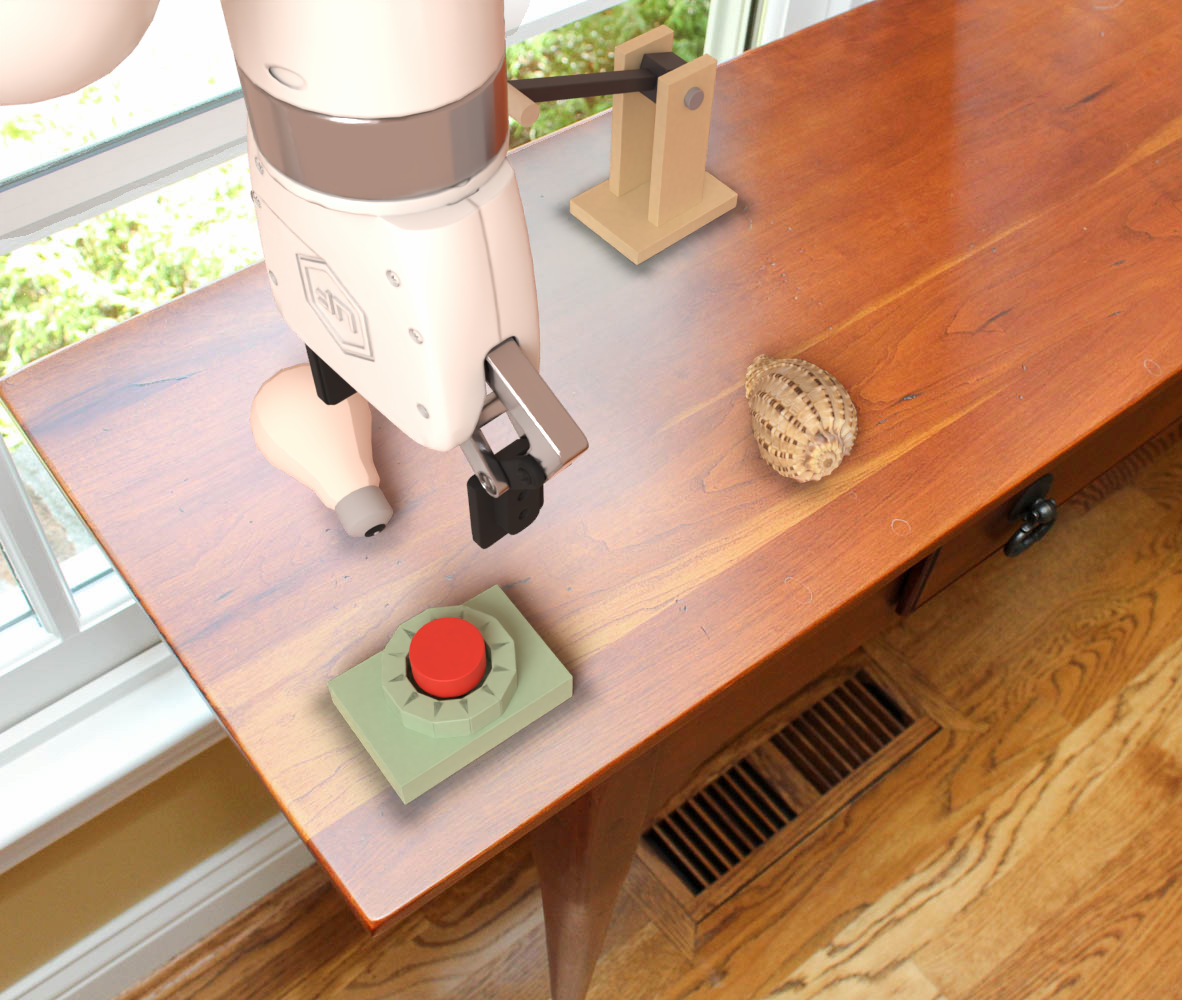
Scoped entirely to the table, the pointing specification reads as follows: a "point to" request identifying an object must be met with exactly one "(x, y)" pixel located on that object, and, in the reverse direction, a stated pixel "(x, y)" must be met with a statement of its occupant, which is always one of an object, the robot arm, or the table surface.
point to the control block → (458, 724)
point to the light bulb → (322, 447)
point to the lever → (587, 86)
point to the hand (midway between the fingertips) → (429, 453)
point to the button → (447, 657)
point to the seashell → (799, 417)
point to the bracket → (657, 158)
